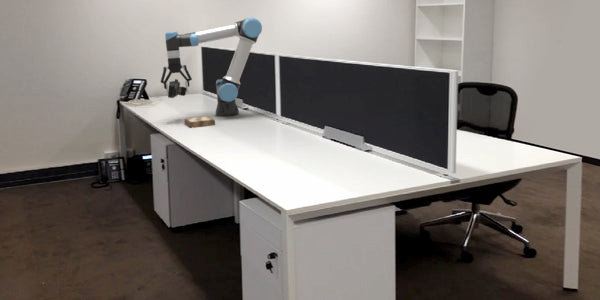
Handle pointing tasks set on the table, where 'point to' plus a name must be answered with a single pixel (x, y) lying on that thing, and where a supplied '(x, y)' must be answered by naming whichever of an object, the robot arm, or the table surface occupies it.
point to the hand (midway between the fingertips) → (177, 93)
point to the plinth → (199, 122)
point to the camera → (176, 89)
